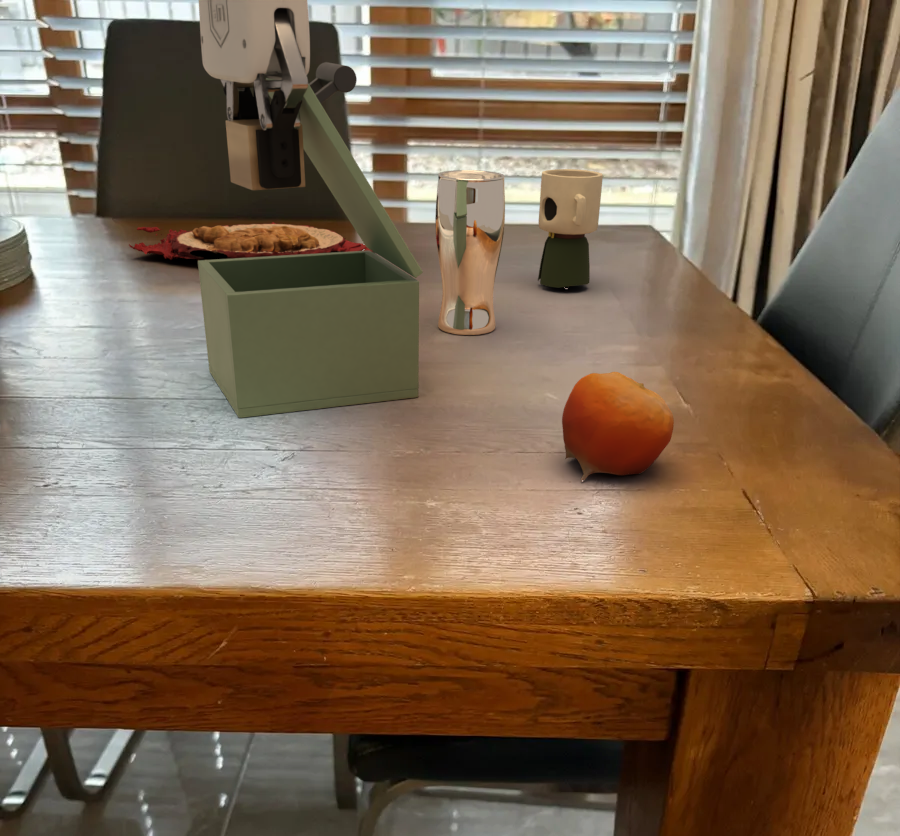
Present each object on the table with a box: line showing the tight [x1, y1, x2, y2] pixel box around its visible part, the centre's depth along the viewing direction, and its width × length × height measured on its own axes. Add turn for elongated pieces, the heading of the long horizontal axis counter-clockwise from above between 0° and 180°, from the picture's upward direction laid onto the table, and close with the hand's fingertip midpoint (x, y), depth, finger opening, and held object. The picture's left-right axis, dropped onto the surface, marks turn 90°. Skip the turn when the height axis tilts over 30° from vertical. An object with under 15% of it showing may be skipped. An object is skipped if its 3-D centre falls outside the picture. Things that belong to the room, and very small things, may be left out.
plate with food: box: [128, 221, 373, 262], centre depth 131 cm, size 24×26×4 cm
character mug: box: [537, 168, 604, 289], centre depth 117 cm, size 11×7×13 cm, turn 8°
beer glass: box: [434, 169, 506, 336], centre depth 100 cm, size 7×7×15 cm
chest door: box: [266, 61, 424, 279], centre depth 79 cm, size 16×13×5 cm
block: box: [225, 119, 306, 191], centre depth 75 cm, size 4×4×4 cm
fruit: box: [561, 371, 675, 481], centre depth 71 cm, size 8×8×8 cm
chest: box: [197, 250, 420, 419], centre depth 84 cm, size 16×13×10 cm
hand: (267, 179), depth 76 cm, fingers closed on block, 4 cm apart
